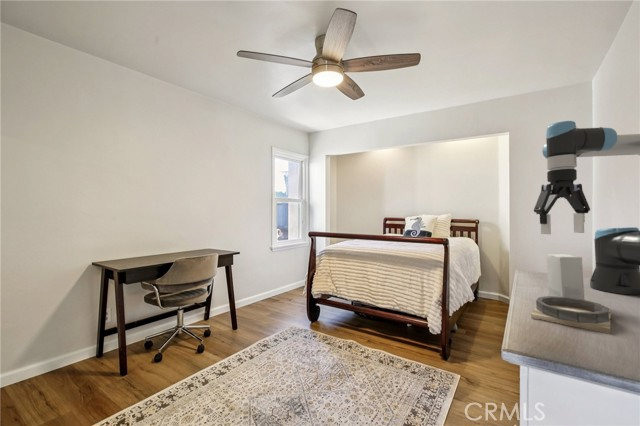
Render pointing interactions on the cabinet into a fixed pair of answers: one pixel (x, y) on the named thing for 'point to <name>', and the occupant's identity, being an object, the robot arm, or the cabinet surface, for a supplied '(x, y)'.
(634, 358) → the cabinet surface
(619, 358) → the cabinet surface
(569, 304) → the collar
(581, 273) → the skincare box
